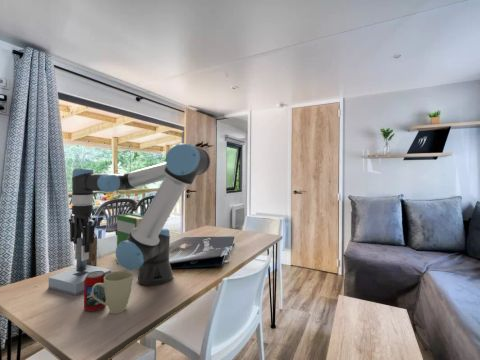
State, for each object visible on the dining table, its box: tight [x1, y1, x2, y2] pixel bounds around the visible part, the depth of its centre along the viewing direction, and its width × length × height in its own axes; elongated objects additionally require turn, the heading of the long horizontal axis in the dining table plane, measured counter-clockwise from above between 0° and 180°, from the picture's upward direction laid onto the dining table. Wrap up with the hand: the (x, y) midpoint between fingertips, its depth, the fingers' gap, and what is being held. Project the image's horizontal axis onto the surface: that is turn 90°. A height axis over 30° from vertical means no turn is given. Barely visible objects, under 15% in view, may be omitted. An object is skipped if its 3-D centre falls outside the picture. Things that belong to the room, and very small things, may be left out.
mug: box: [92, 270, 133, 314], centre depth 84 cm, size 11×10×12 cm
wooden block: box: [86, 236, 98, 267], centre depth 121 cm, size 4×11×18 cm, turn 17°
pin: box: [75, 236, 86, 272], centre depth 104 cm, size 4×4×14 cm
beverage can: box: [83, 271, 106, 312], centre depth 86 cm, size 7×7×12 cm
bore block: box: [48, 265, 112, 297], centre depth 104 cm, size 16×16×4 cm
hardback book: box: [116, 213, 144, 247], centre depth 137 cm, size 18×7×24 cm, turn 55°
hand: (81, 259), depth 104 cm, fingers closed on pin, 3 cm apart
